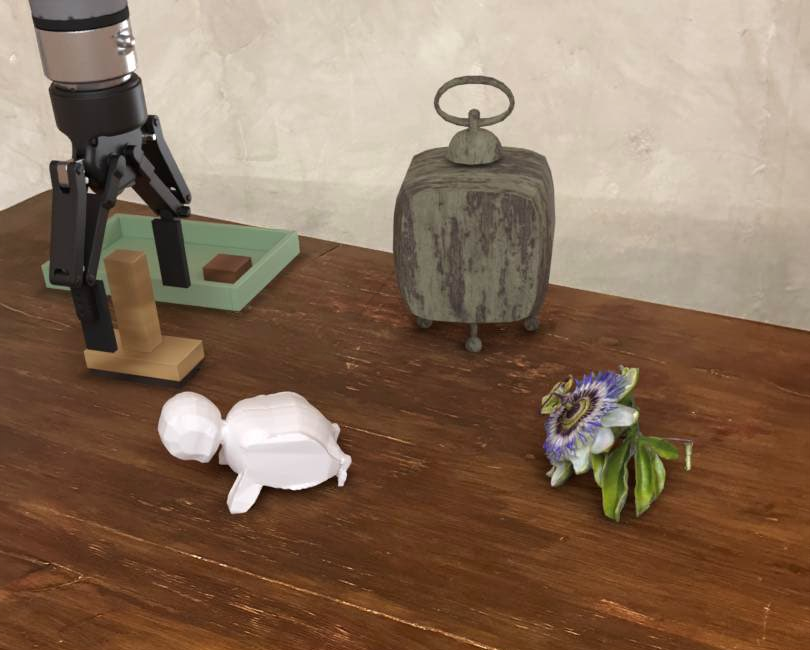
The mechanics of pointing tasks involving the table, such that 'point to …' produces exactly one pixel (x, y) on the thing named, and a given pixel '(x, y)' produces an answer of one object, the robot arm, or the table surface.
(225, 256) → the wood chip
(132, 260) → the brush
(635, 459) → the passion flower
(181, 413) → the white turtle figurine
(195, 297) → the tray
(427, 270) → the tabletop clock
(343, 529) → the table surface
